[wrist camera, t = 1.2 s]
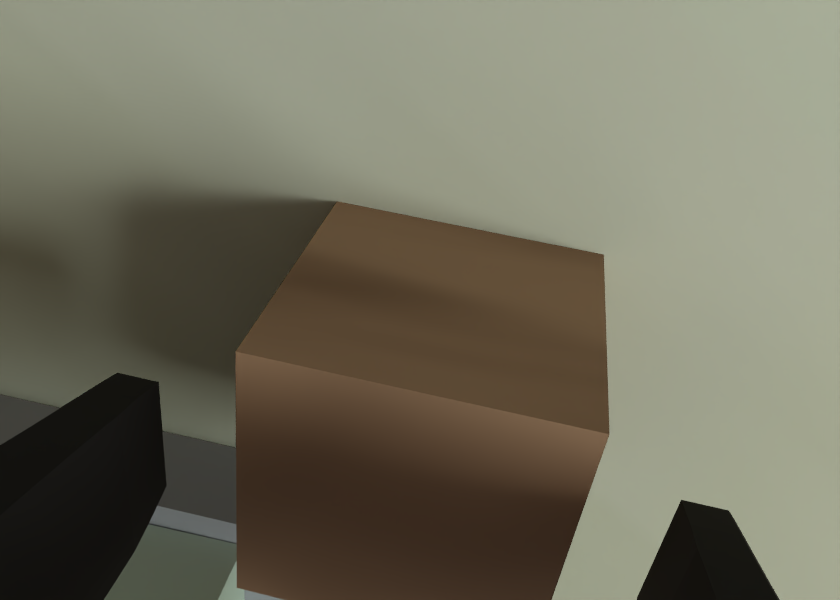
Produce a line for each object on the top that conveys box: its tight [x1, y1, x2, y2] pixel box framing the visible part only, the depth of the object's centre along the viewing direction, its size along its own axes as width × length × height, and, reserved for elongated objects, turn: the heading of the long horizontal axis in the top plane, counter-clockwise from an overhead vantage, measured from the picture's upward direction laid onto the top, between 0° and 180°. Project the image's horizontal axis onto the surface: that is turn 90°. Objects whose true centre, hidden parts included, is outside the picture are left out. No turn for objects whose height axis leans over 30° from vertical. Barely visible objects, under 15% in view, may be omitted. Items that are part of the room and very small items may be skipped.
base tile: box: [0, 394, 284, 600], centre depth 18 cm, size 8×8×2 cm
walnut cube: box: [236, 202, 609, 600], centre depth 12 cm, size 4×4×4 cm
